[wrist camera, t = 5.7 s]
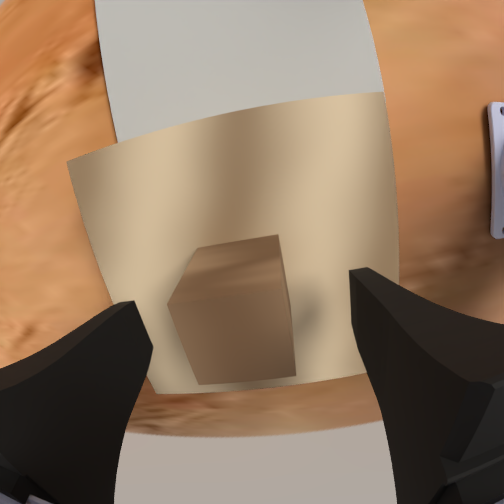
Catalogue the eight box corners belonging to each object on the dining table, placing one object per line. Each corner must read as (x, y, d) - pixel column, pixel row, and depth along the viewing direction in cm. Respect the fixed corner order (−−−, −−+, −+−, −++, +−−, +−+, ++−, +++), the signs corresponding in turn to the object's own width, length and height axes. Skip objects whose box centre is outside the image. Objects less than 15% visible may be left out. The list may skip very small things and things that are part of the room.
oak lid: (374, 93, 10) (438, 80, 6) (388, 353, 15) (418, 429, 10) (79, 158, 12) (-2, 183, 7) (161, 381, 16) (134, 453, 12)
